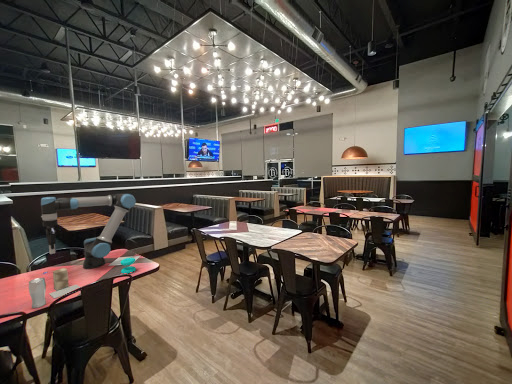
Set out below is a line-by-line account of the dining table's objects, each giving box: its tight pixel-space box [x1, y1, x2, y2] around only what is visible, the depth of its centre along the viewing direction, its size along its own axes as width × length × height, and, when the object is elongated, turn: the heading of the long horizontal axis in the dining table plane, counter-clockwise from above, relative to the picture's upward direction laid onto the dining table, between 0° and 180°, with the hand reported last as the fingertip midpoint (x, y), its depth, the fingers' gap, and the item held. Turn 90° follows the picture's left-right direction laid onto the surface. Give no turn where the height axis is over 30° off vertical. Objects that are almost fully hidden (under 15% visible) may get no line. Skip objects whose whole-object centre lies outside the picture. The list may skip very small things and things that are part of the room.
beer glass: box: [28, 277, 47, 309], centre depth 127 cm, size 7×7×15 cm
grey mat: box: [48, 284, 81, 299], centre depth 143 cm, size 14×10×1 cm
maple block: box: [52, 267, 70, 291], centre depth 147 cm, size 6×6×12 cm
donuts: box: [120, 257, 137, 275], centre depth 171 cm, size 10×10×10 cm
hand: (52, 253), depth 153 cm, fingers closed
